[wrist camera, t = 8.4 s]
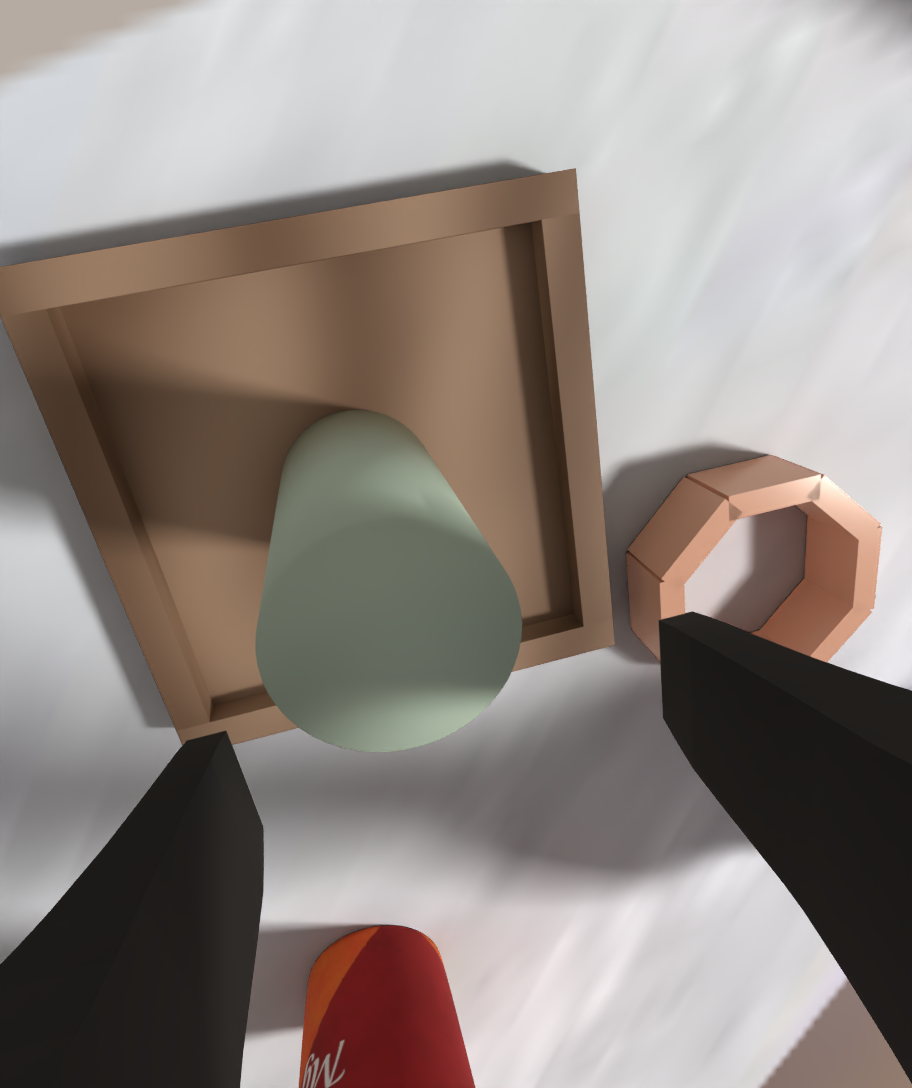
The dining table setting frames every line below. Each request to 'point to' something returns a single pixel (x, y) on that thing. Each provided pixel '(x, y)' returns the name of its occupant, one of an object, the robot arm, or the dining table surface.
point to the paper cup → (382, 1015)
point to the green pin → (379, 593)
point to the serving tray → (320, 408)
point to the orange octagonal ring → (744, 490)
